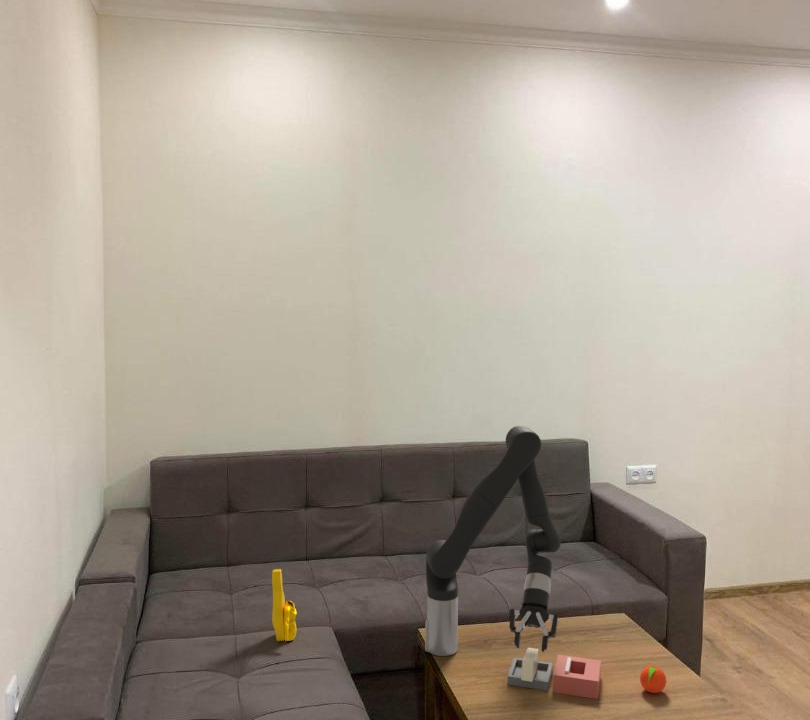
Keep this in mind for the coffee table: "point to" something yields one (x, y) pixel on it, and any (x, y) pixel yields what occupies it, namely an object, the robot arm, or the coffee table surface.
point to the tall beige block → (529, 664)
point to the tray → (540, 677)
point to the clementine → (653, 679)
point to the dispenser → (577, 676)
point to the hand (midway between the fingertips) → (530, 648)
